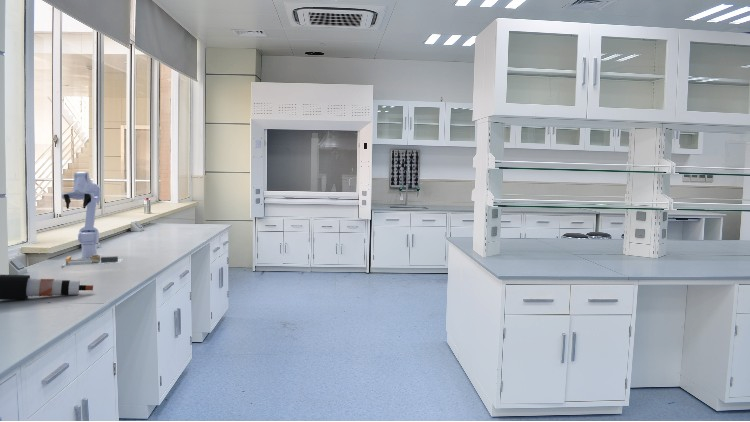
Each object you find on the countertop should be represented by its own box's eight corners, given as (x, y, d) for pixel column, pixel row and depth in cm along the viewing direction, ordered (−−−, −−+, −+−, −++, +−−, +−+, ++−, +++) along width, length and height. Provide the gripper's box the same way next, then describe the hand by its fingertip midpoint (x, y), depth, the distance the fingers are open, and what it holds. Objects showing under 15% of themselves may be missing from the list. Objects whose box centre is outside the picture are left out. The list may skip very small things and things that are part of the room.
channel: (66, 263, 286) (66, 255, 286) (123, 261, 295) (122, 253, 294) (61, 267, 276) (61, 259, 275) (120, 264, 284) (119, 256, 284)
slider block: (91, 261, 286) (91, 254, 286) (99, 260, 288) (99, 254, 287) (90, 262, 283) (90, 255, 283) (98, 261, 284) (98, 255, 284)
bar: (101, 261, 287) (101, 257, 287) (117, 260, 290) (117, 256, 290) (101, 262, 285) (100, 257, 285) (117, 261, 288) (117, 257, 287)
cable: (91, 304, 224) (92, 286, 219) (-4, 304, 209) (-5, 285, 205) (93, 289, 231) (94, 271, 227) (1, 288, 217) (0, 269, 212)
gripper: (62, 183, 274) (58, 202, 265) (93, 183, 279) (90, 201, 270) (65, 193, 279) (61, 211, 270) (95, 192, 284) (92, 211, 275)
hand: (75, 207), depth 270 cm, fingers open, 7 cm apart
